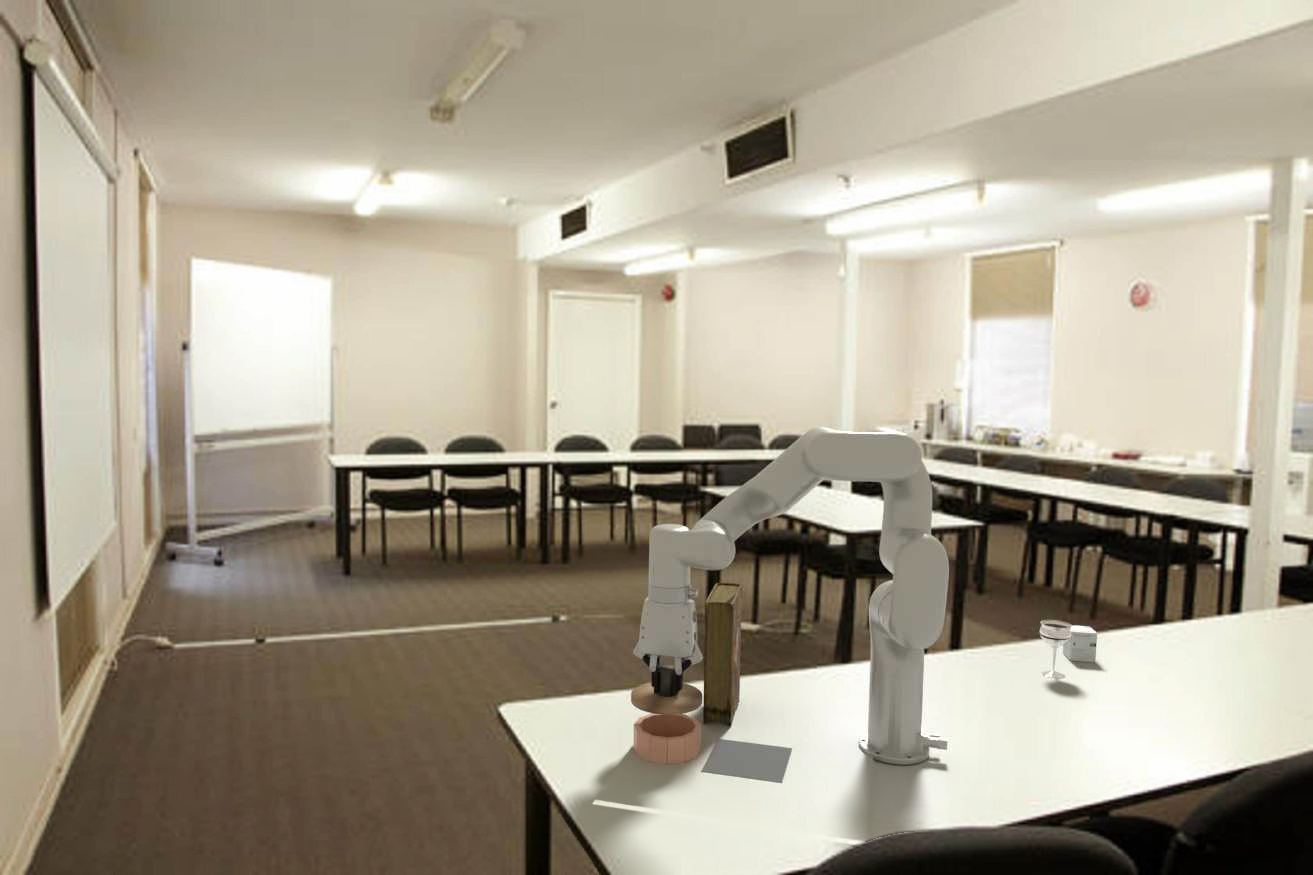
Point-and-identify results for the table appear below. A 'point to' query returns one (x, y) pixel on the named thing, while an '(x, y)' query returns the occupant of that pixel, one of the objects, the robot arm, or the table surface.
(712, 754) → the mat
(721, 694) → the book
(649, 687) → the lid
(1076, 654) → the skincare box
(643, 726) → the bowl
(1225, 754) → the table surface
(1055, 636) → the wineglass
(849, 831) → the table surface
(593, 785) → the table surface
